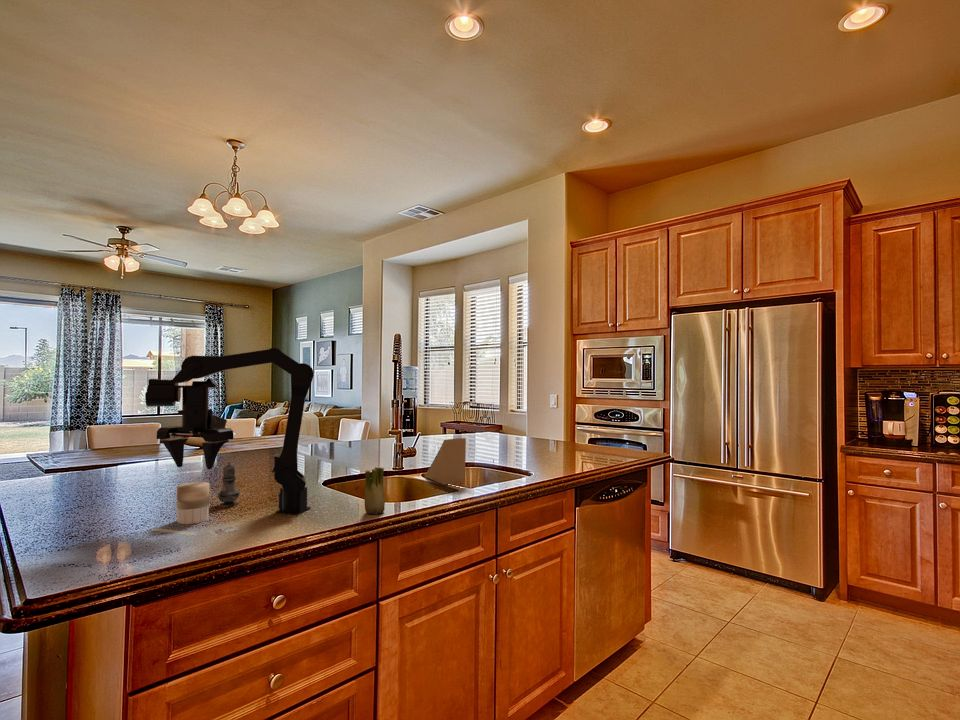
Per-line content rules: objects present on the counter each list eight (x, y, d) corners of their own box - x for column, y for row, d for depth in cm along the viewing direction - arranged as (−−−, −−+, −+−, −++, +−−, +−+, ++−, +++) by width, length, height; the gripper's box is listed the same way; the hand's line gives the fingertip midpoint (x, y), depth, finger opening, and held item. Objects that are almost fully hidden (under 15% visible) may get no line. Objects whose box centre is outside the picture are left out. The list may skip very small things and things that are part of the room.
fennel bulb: (365, 517, 129) (365, 470, 130) (361, 512, 134) (362, 466, 134) (387, 514, 132) (387, 468, 132) (383, 509, 136) (383, 465, 136)
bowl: (214, 519, 127) (214, 503, 127) (192, 526, 120) (192, 510, 120) (193, 516, 129) (193, 501, 129) (170, 524, 122) (171, 507, 122)
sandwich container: (444, 473, 184) (445, 432, 184) (466, 481, 171) (466, 437, 172) (423, 476, 180) (424, 434, 180) (443, 484, 167) (444, 439, 167)
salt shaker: (230, 508, 136) (231, 464, 136) (211, 507, 137) (212, 463, 138) (244, 503, 142) (245, 460, 142) (226, 501, 143) (227, 459, 143)
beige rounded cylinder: (215, 503, 127) (215, 483, 127) (192, 510, 120) (193, 489, 120) (193, 500, 129) (193, 481, 129) (169, 508, 122) (170, 487, 122)
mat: (199, 535, 114) (199, 533, 114) (151, 554, 103) (151, 551, 103) (157, 530, 117) (157, 528, 117) (107, 548, 106) (107, 545, 106)
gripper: (249, 404, 131) (248, 464, 131) (191, 403, 136) (191, 460, 136) (216, 407, 121) (215, 472, 120) (155, 405, 126) (154, 468, 125)
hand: (194, 468), depth 126 cm, fingers open, 9 cm apart
